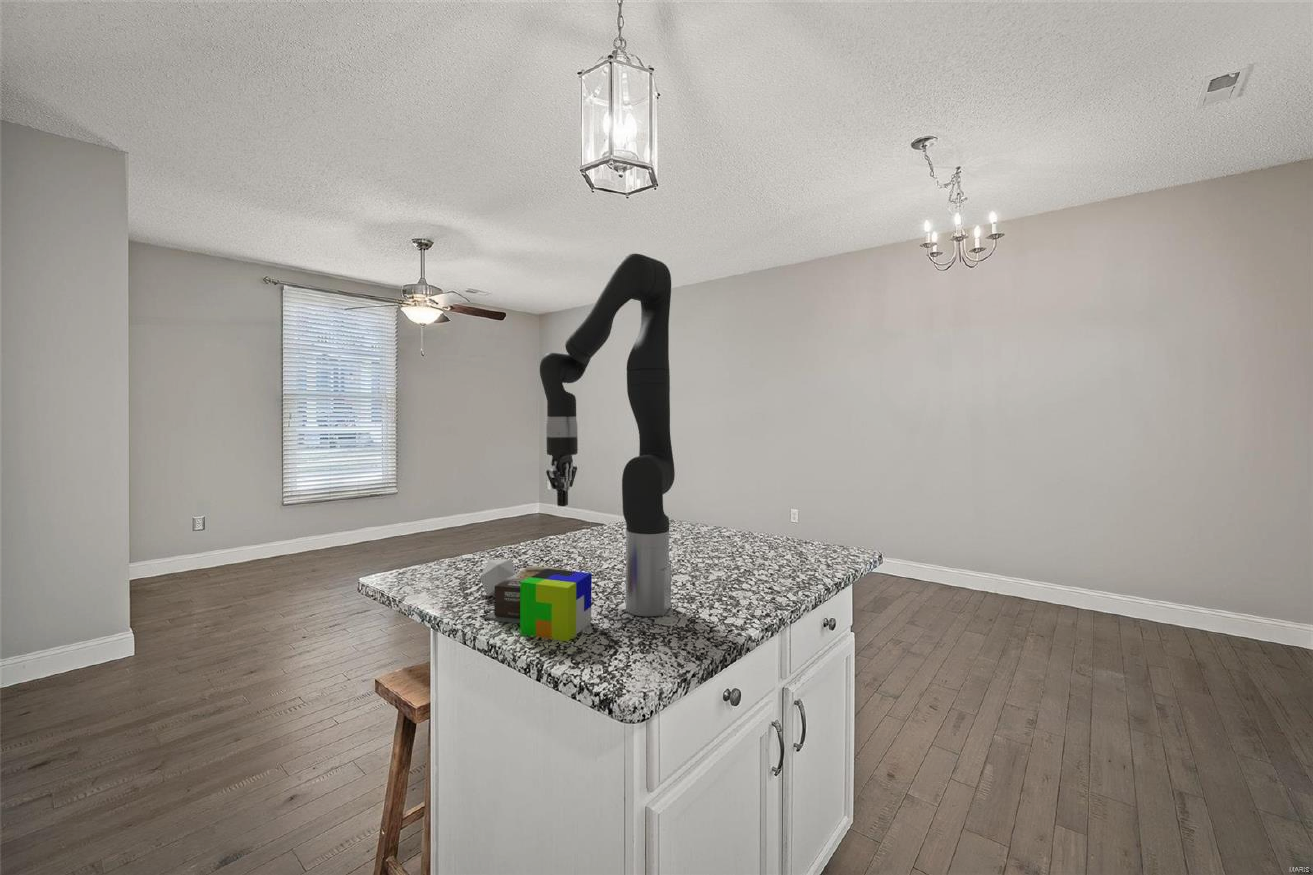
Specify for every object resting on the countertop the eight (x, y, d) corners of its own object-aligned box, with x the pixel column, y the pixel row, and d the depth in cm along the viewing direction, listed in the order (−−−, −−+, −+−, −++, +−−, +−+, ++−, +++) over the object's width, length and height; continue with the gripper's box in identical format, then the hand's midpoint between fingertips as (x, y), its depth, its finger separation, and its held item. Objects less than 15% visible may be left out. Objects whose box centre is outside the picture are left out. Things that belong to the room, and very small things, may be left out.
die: (502, 605, 119) (526, 566, 123) (468, 585, 119) (493, 547, 123) (504, 606, 127) (527, 570, 130) (473, 588, 127) (496, 552, 131)
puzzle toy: (591, 622, 108) (591, 573, 108) (567, 641, 99) (567, 587, 98) (547, 616, 111) (547, 568, 111) (520, 634, 102) (520, 582, 101)
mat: (559, 598, 122) (559, 596, 122) (524, 623, 107) (524, 621, 107) (523, 594, 125) (523, 592, 125) (484, 618, 109) (484, 617, 109)
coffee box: (565, 567, 123) (535, 589, 107) (565, 595, 123) (534, 621, 107) (528, 564, 125) (493, 585, 109) (528, 592, 125) (492, 616, 109)
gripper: (564, 436, 125) (565, 510, 125) (586, 434, 137) (587, 502, 138) (535, 436, 127) (536, 509, 127) (559, 434, 139) (560, 501, 140)
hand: (562, 505), depth 132 cm, fingers closed
